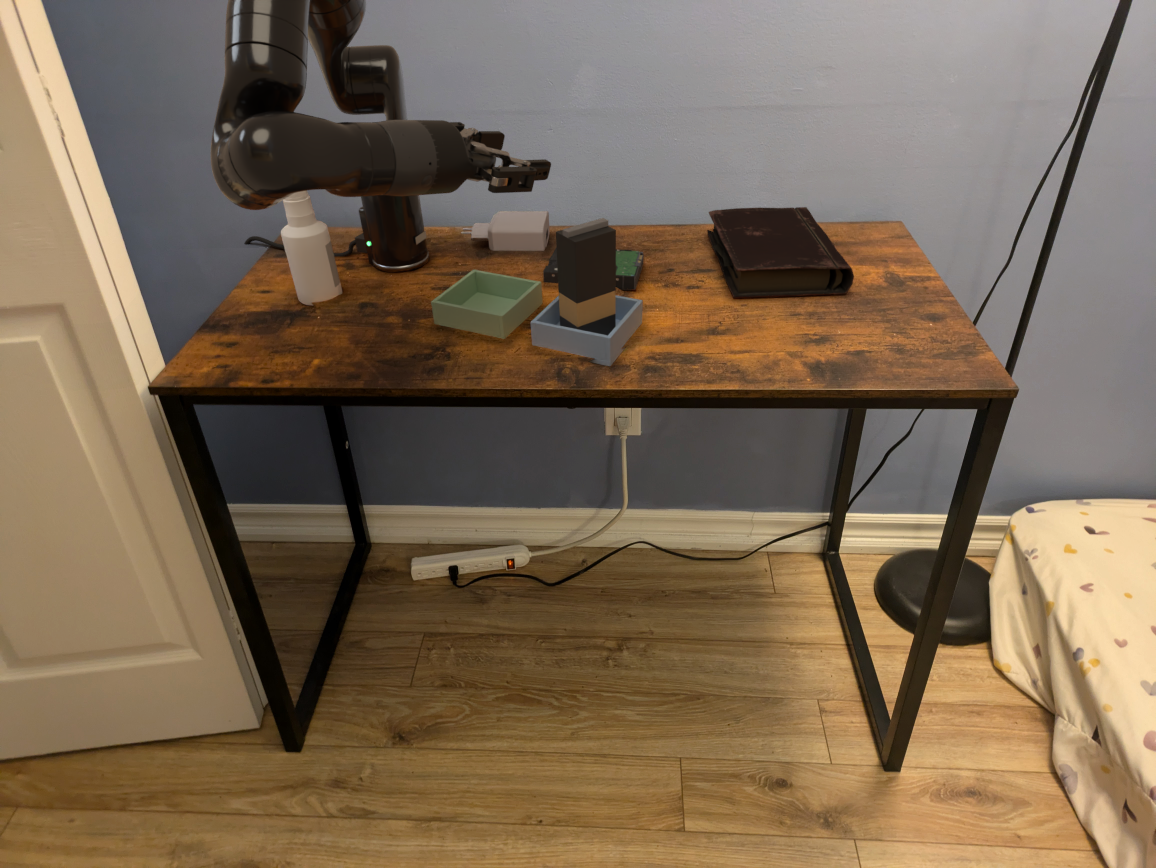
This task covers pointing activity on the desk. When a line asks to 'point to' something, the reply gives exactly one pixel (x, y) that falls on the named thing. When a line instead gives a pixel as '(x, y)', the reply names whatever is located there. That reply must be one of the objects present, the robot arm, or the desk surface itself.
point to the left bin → (487, 303)
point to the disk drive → (626, 269)
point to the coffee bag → (587, 276)
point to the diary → (777, 253)
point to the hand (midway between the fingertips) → (524, 155)
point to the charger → (514, 231)
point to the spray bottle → (309, 252)
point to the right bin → (584, 342)
